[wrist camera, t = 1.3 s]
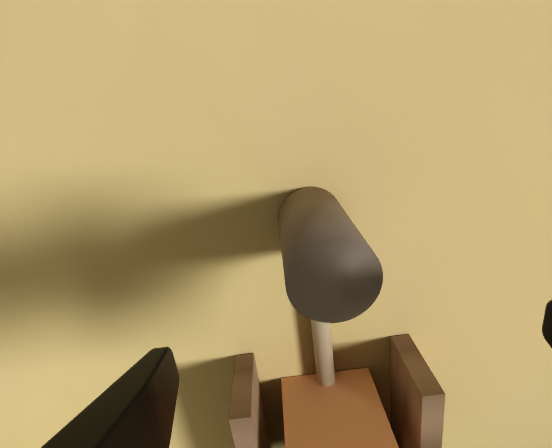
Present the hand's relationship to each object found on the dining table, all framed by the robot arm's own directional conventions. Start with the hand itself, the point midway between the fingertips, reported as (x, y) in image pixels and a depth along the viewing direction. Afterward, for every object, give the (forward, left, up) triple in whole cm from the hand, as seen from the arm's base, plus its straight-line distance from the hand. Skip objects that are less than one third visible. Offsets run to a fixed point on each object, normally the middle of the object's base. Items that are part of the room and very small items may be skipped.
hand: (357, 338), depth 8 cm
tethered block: (-6, 0, -8) cm, 11 cm away
